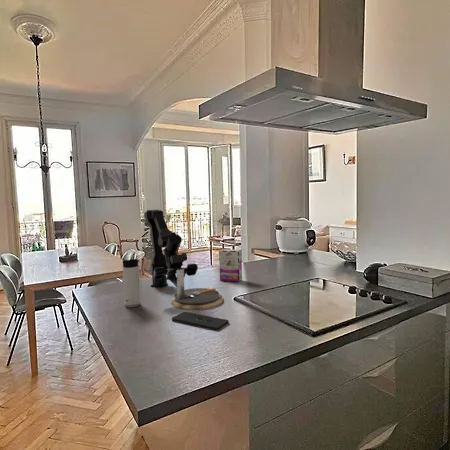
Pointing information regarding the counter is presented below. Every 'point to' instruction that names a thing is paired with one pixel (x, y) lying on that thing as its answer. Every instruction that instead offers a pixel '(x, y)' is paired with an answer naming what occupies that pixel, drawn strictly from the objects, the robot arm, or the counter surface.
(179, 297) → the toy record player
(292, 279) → the counter surface
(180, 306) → the oak stand
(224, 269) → the candy bar box
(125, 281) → the travel mug
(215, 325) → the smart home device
